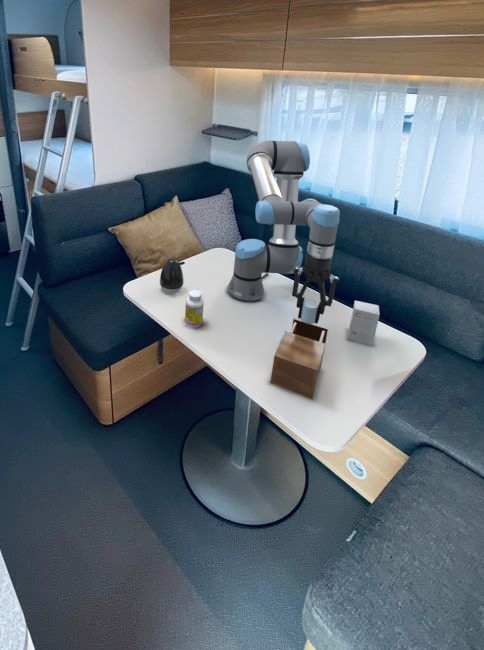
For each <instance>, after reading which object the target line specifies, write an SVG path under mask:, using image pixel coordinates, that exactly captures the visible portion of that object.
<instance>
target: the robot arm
mask: <svg viewBox="0 0 484 650" xmlns="http://www.w3.org/2000/svg"><path fill="white" fill-rule="evenodd" d="M310 164H311V154H310V150H309V146H308V145H307V144H306V143H305V142H303V141H298V140H297V141H296V140H263V141H260V142H259V143H256V144H255V145H254V146H253V147H252V148H251V149H250V150H249V152H248V154H247V157H246V167H247V170H248V172H249V173H250V174H251V175H252V179H253V183H254V187H255V191H256V194H257V198H258V201H256V205H255V220H256V222H257V223H258V224H261V225H262V224H263V225H269V226H270V225H271V226H272V225H273V234H272V235H273V236H272V237H271V238H270V239H269V240H268V244H266V243H265V242H264V240H261V239H258V238H247V239H244V240H241V241H239V242H238V243H237V244H236V246H235V252H234V266H233V274H232V276H231V279H230V281H229V282H228V285H227V293H228V295H229V296H230V297H232V298H233V299H235V300H238V301H240V302H245V303H254V302H258V301H260V300H261V299H263V298H264V294H265V287H264V284H263V279H264V278H266V277H267V276H268V275H269V274H283V275H290V274H294V279H293V285H292V293H291V296H292V297H294V298H296V305H295V306H296V308H298V315H297V318H298V319H301V313H302V306H303V302H304V301H305V300H306V299H305V298H306V297H304V295H305V292H306V290H307V288H308V286H309V285H310V283H316V284H317V285H318V290H319V302H318V310H317V315H316V321H315V324H318V325H319V321H320V317H321V315H322V316H323V315H324V314H325V310H326V307H332V304H333V301H334V296H335V291H336V286H337V284H338V283H339V279H340V276H338V275H334V274H332V272H331V266H332V262H333V256H334V250H335V244H336V239H337V233H338V228H339V223H340V220H341V219H340V215H341V212H340V209H339V208H338V207H336V206H334V205H331V204H324V203H323V204H322V203H321V202H320V201H318V200H316V199H314V198H306V199H303V200H302V201H299V187H300V179H302V178H303V177H304V175H305V174H304V172H305V173H306V172H308V170H309V168H310ZM297 226H307V227H308V228H309V234H308V235H309V236H308V242H307V248H306V254H305V259H304V260H305V261H304V265H303V266H302V263H303V257H304V254H303V248H302V247H301V246H300V245H299V241H298V240H297V239H296V228H297ZM302 273H303V274H304V276H305V278H306V279H305V281H304V283H303V285H302V287H301V289H300V291H299V292H298V290H299V284H300V279H301V275H302ZM262 275H263V276H262ZM328 279H329V282H330V287H329V292H328V298H327V295H326V287H325V281H327V280H328Z"/></svg>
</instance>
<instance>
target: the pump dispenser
mask: <svg viewBox="0 0 484 650" xmlns="http://www.w3.org/2000/svg"><path fill="white" fill-rule="evenodd" d="M185 264H186V262H185V261H178V259H177V258H176V257H175V258H174V257H170V258H167V260H166V261H165V262H164V264H163V266H162V268H161V272H160V276H159V285H160V287H161V289H162V290H163V292H164V293H167V294H176V293H179V292H180V291H181V290H182V288H183V286H184V283H185V282H184V274H183V269H182V266H183V265H185Z"/></svg>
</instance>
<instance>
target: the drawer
mask: <svg viewBox="0 0 484 650" xmlns="http://www.w3.org/2000/svg"><path fill="white" fill-rule="evenodd" d="M328 331H329V327H327V326H325V325H321V324H319V323H318V324H316V323H314V324H307V323H304V322H303V321H302V320H301V318H298V317H293V319H292V326H291V329H290V330H289V332H290V333H293V334H296V335H299V336H302V337H305V338H309V339H312V340H315V341H318V342H321V343H324V344H325V345H326V342H327V337H328V333H329V332H328Z"/></svg>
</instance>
